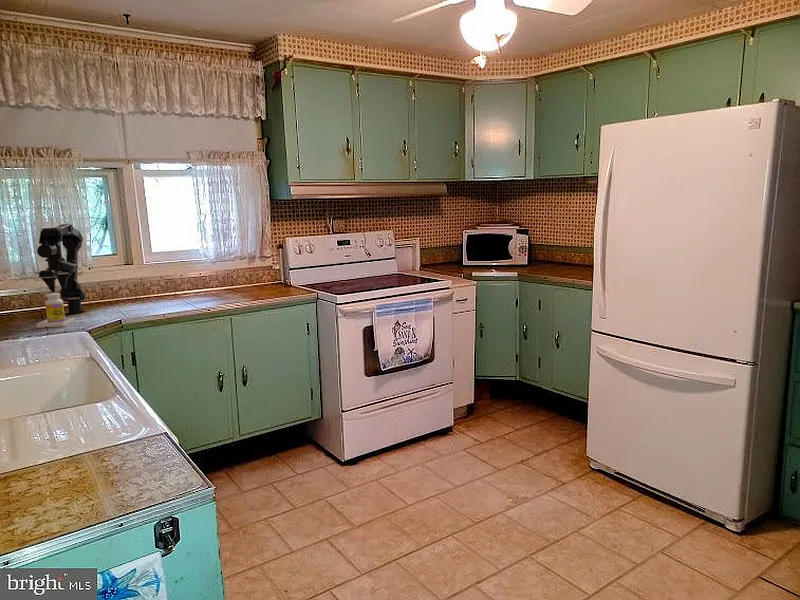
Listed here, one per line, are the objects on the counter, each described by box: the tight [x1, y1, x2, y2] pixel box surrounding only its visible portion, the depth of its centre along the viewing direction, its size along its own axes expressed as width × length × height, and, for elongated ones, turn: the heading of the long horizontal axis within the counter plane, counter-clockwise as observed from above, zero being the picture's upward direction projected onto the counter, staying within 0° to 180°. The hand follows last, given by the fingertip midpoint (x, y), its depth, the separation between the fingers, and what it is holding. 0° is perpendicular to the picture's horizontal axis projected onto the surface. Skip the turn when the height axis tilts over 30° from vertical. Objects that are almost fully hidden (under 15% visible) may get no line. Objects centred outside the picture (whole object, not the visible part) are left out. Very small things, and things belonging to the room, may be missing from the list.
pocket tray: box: [36, 317, 76, 329], centre depth 245 cm, size 12×11×2 cm
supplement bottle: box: [44, 292, 66, 323], centre depth 244 cm, size 7×7×13 cm
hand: (58, 291), depth 256 cm, fingers open, 9 cm apart
